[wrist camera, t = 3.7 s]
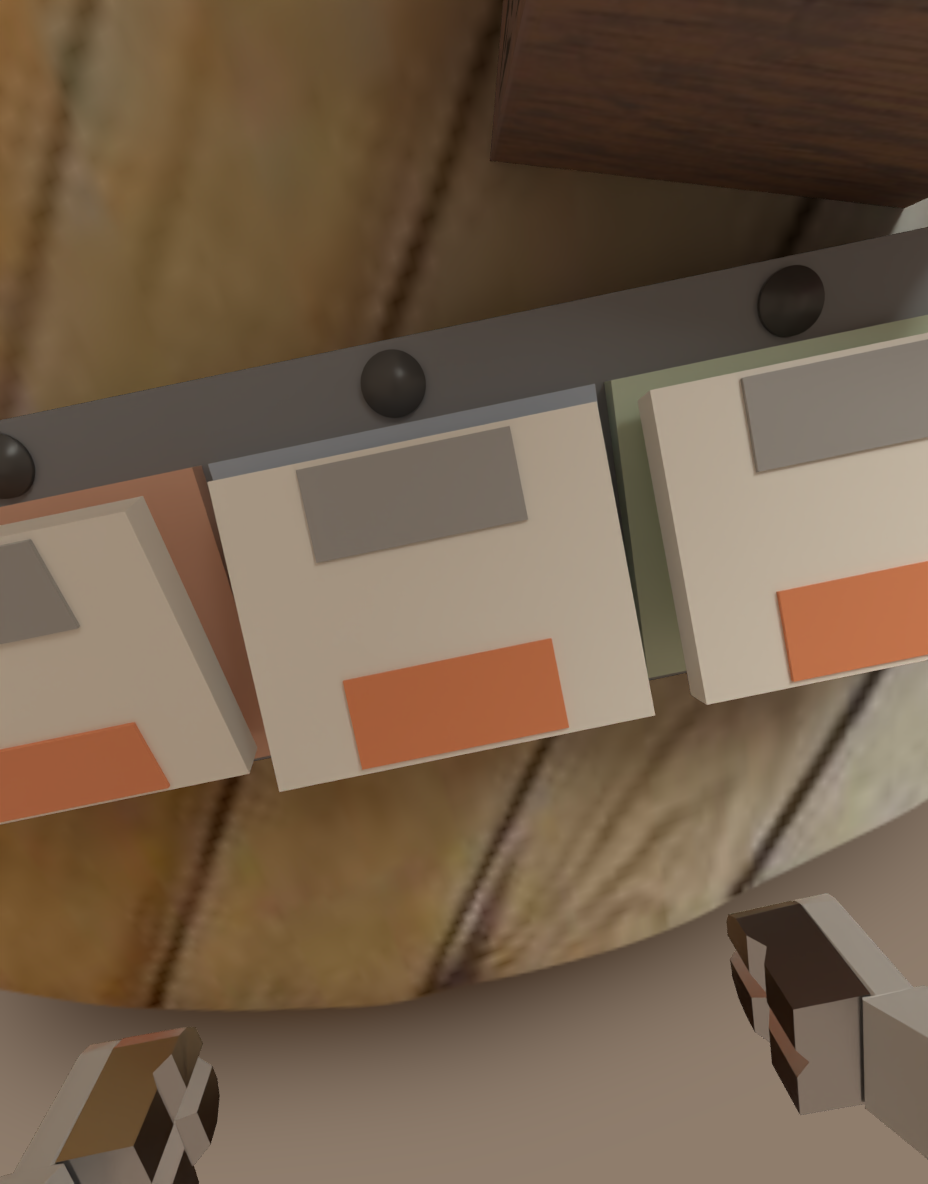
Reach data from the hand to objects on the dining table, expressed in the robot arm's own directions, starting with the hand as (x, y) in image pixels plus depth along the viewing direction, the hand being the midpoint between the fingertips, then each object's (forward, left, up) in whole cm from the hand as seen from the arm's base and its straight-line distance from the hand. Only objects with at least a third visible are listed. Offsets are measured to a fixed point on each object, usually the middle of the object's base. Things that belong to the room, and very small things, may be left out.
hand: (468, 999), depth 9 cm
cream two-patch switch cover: (-13, -3, -10) cm, 16 cm away
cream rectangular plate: (0, -3, -10) cm, 11 cm away
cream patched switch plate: (+12, -3, -10) cm, 16 cm away
